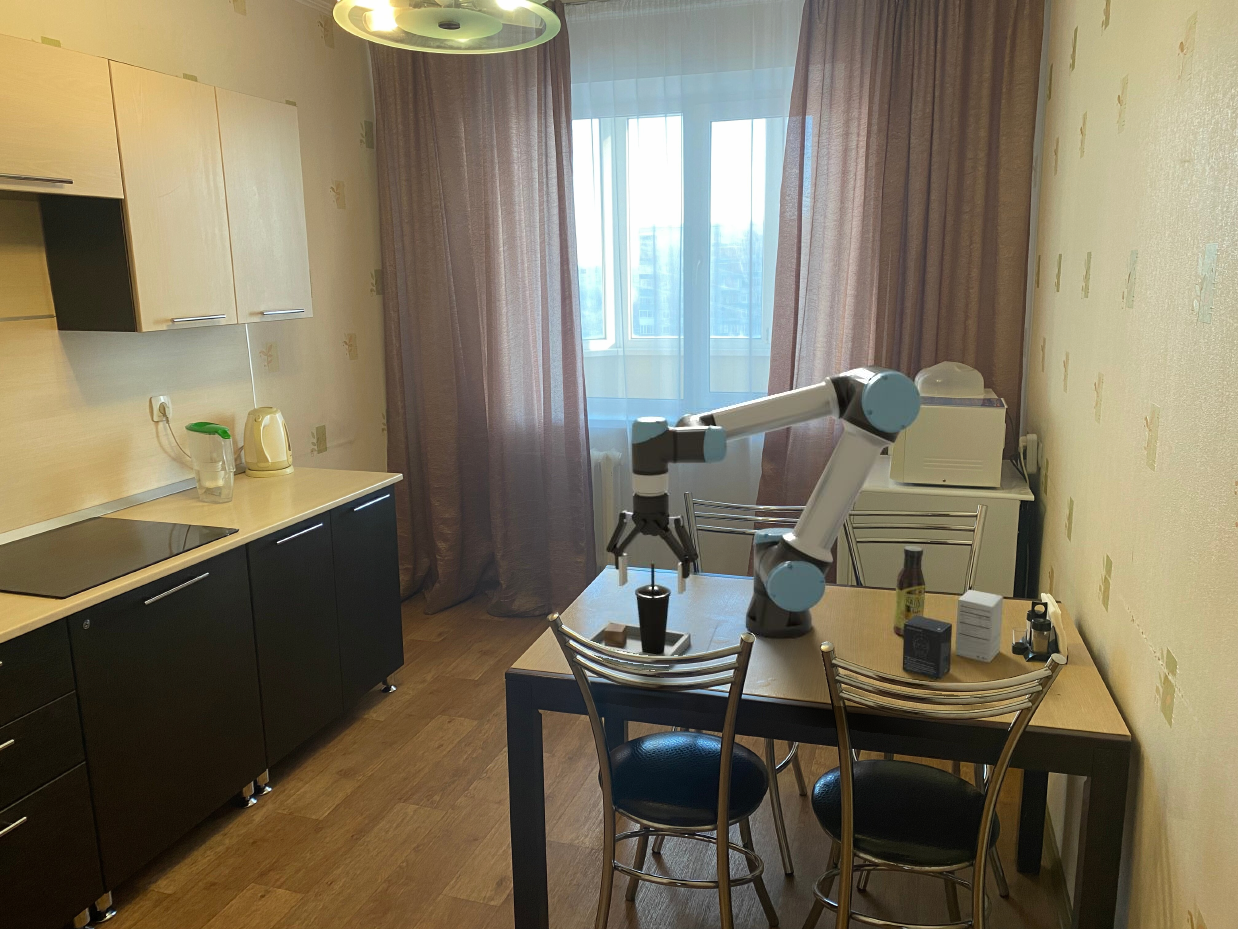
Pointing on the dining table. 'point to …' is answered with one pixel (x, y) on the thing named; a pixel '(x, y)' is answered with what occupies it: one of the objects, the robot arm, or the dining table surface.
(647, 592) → the drinking cup
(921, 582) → the sauce bottle
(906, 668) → the box
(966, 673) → the dining table surface
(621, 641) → the walnut block
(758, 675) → the dining table surface
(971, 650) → the supplement box
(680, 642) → the tray
